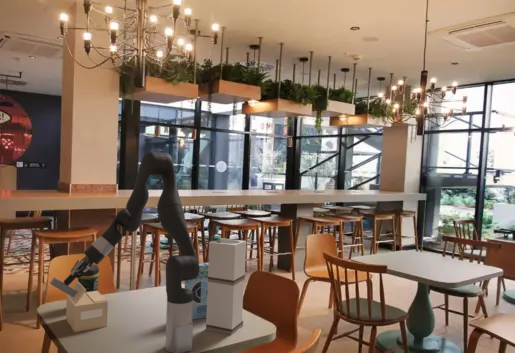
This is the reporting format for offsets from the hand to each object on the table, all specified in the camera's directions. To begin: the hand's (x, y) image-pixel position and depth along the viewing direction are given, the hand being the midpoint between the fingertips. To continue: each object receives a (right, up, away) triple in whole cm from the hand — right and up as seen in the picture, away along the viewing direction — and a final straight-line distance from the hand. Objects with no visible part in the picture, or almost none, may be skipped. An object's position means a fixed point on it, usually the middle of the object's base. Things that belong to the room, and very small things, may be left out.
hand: (65, 283), depth 163 cm
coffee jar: (-1, -17, +23) cm, 29 cm away
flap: (+3, -4, +3) cm, 6 cm away
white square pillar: (+62, -19, +6) cm, 65 cm away
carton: (+6, -17, +5) cm, 19 cm away
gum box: (+53, -19, +19) cm, 59 cm away
